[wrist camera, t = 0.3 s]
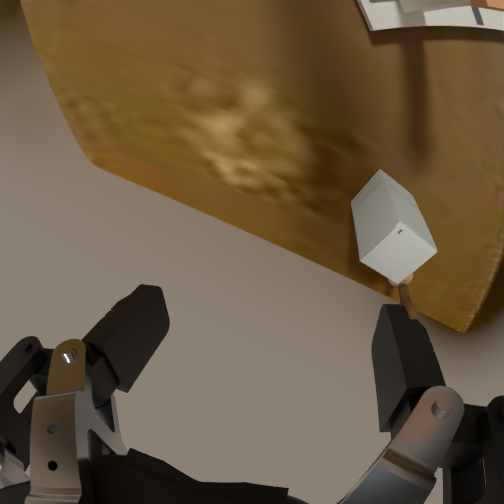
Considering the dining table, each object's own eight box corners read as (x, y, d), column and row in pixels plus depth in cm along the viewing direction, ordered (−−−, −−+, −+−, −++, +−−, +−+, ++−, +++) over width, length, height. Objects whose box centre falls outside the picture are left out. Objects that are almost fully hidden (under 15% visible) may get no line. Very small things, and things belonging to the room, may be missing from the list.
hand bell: (367, 267, 47) (374, 345, 36) (383, 233, 41) (400, 313, 30) (405, 274, 46) (419, 349, 35) (424, 242, 41) (448, 319, 29)
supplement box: (348, 201, 39) (356, 261, 30) (379, 166, 34) (402, 219, 25) (382, 225, 41) (396, 286, 32) (413, 195, 36) (439, 252, 27)
